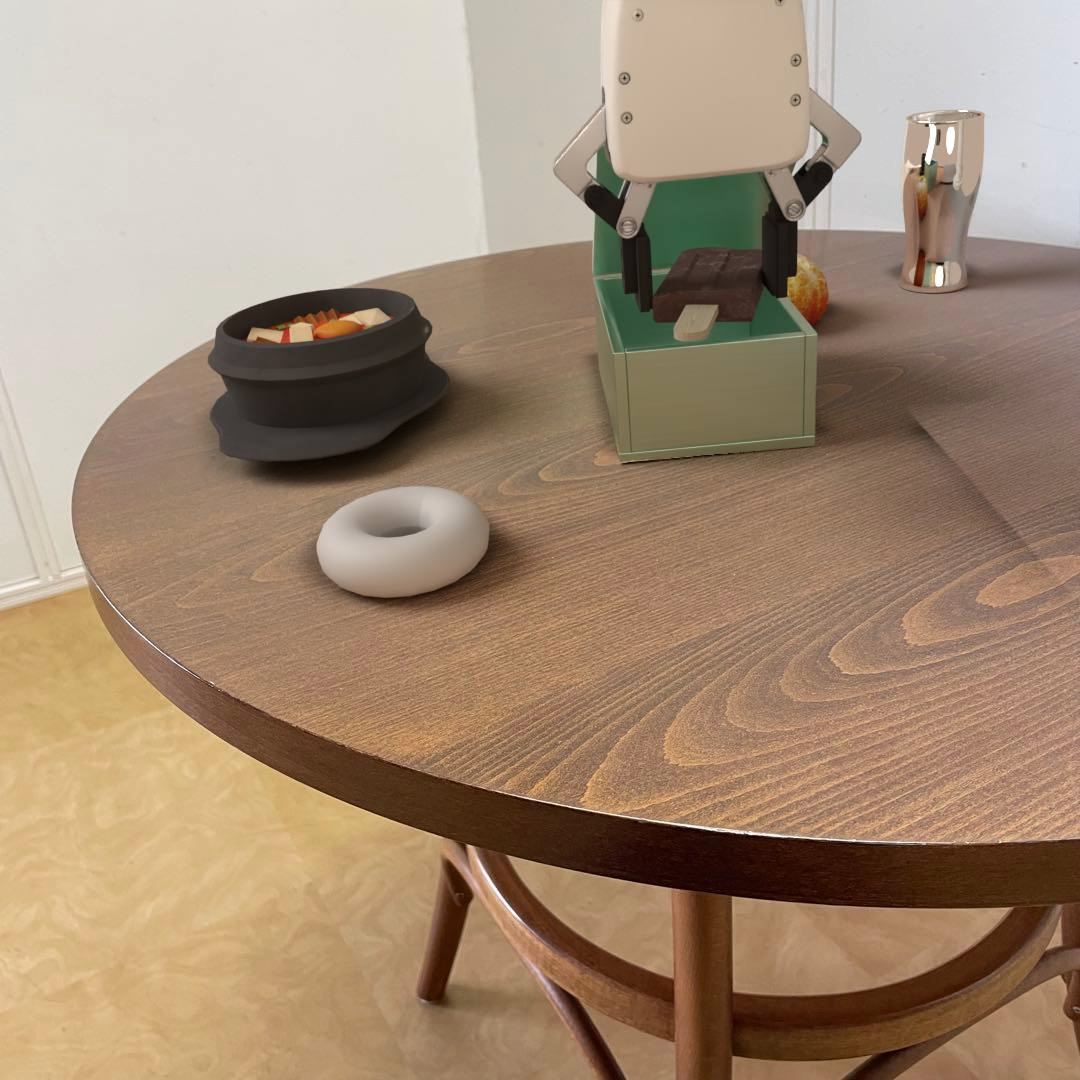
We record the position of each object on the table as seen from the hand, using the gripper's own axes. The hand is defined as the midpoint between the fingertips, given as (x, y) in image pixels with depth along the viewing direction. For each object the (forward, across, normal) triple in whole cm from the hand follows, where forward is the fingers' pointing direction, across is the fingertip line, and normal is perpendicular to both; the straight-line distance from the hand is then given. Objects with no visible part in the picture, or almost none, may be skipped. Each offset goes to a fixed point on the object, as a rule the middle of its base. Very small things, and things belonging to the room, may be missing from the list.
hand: (709, 295), depth 61 cm
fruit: (+14, -11, -36) cm, 40 cm away
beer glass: (+14, -28, -43) cm, 53 cm away
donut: (+14, +18, +2) cm, 23 cm away
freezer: (+14, -2, -18) cm, 23 cm away
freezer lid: (0, -2, -20) cm, 20 cm away
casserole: (+14, +26, -23) cm, 37 cm away
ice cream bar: (+1, 0, 0) cm, 1 cm away
